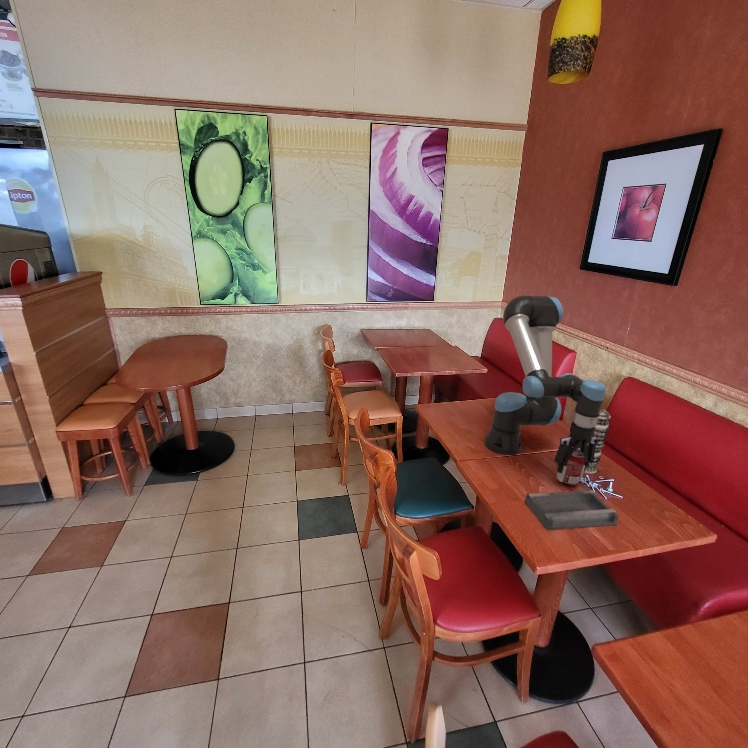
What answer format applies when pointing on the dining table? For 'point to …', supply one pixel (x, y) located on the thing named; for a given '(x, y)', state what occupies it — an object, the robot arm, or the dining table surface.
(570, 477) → the soda can
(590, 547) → the dining table surface
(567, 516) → the tray
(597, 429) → the decorative candle
